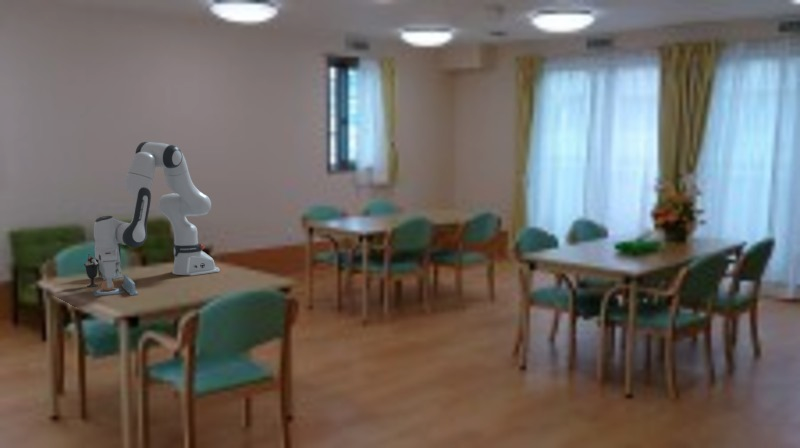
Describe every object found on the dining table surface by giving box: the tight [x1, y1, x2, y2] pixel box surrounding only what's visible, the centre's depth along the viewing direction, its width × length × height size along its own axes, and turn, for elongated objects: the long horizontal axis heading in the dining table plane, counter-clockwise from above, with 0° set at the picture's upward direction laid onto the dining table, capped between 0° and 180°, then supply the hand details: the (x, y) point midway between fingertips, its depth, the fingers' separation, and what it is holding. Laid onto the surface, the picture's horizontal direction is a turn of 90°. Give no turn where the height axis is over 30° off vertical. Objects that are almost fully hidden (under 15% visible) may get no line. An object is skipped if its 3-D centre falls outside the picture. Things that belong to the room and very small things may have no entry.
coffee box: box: [97, 243, 123, 280], centre depth 361 cm, size 9×6×16 cm
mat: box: [90, 287, 126, 297], centre depth 330 cm, size 12×12×1 cm
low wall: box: [121, 274, 139, 296], centre depth 334 cm, size 3×22×5 cm, turn 29°
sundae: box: [83, 254, 99, 288], centre depth 342 cm, size 7×7×15 cm
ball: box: [101, 280, 115, 292], centre depth 330 cm, size 5×5×5 cm
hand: (107, 285), depth 330 cm, fingers open, 8 cm apart
